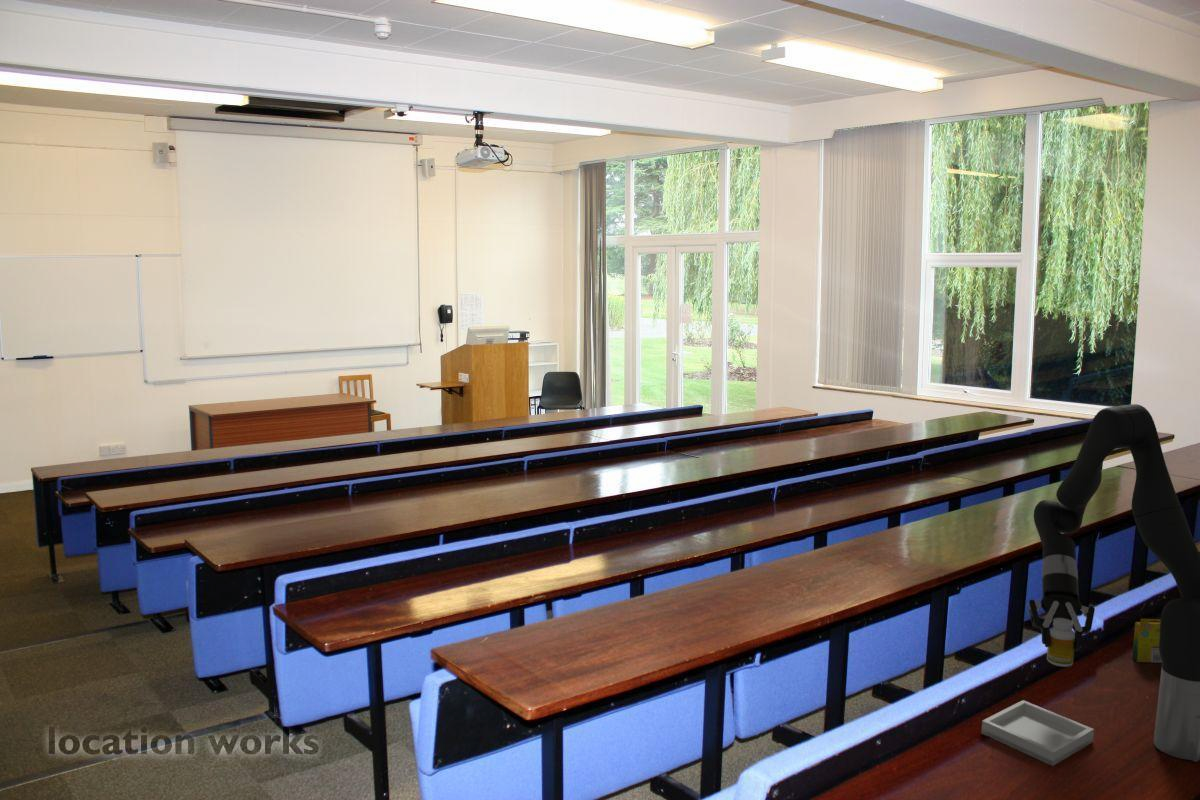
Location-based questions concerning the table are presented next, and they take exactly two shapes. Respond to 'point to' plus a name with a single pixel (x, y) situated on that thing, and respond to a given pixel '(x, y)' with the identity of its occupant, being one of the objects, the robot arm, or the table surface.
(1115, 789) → the table surface
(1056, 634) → the supplement bottle
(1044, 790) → the table surface
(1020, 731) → the tray
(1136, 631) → the crayon box
